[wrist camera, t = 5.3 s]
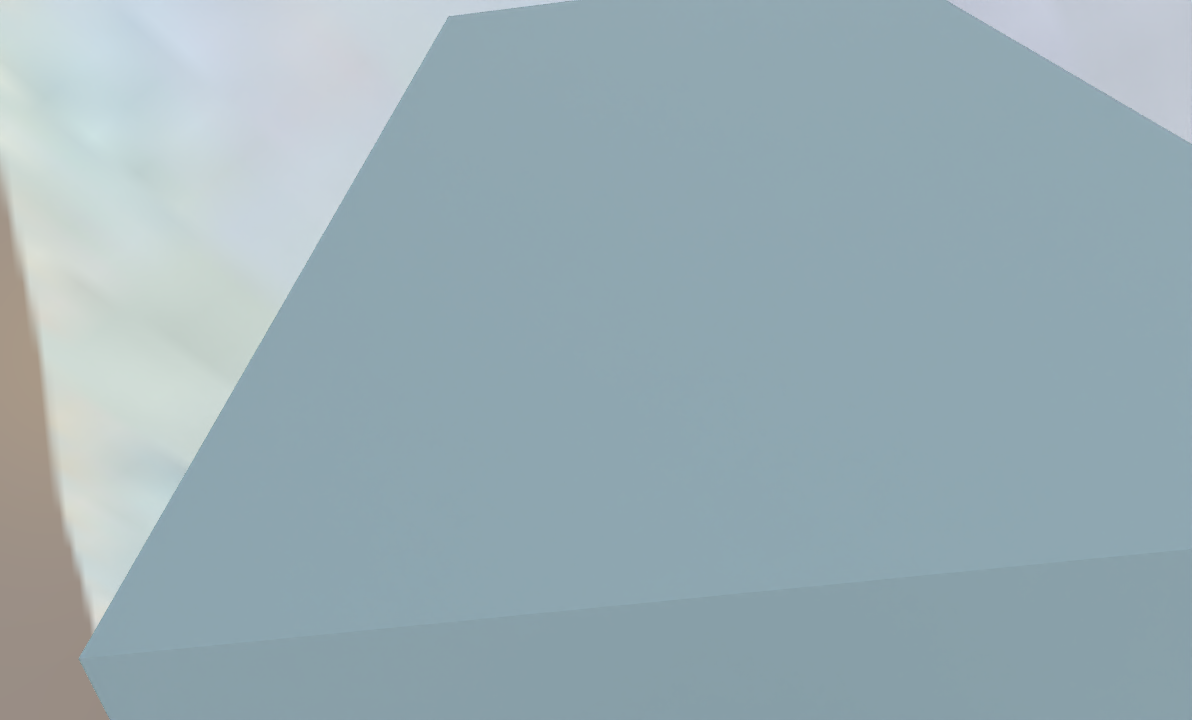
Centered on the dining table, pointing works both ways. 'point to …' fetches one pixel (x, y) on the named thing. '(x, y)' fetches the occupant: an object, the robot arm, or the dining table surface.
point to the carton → (705, 395)
